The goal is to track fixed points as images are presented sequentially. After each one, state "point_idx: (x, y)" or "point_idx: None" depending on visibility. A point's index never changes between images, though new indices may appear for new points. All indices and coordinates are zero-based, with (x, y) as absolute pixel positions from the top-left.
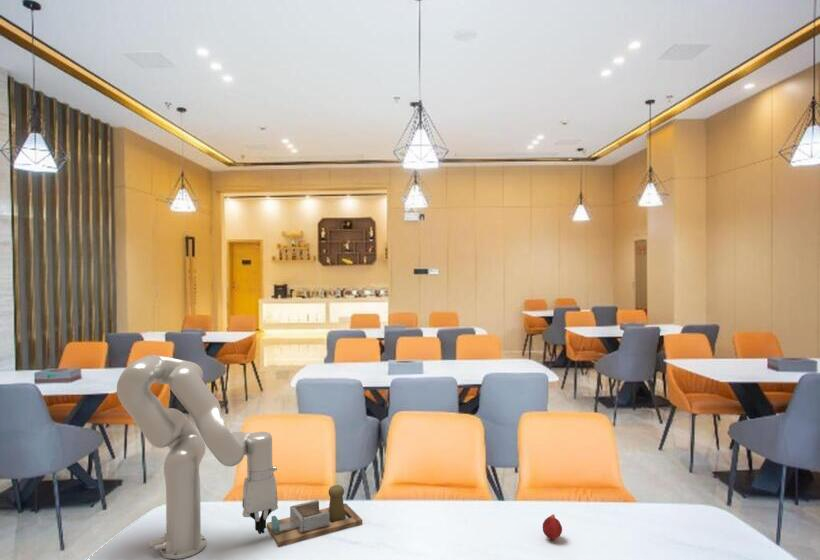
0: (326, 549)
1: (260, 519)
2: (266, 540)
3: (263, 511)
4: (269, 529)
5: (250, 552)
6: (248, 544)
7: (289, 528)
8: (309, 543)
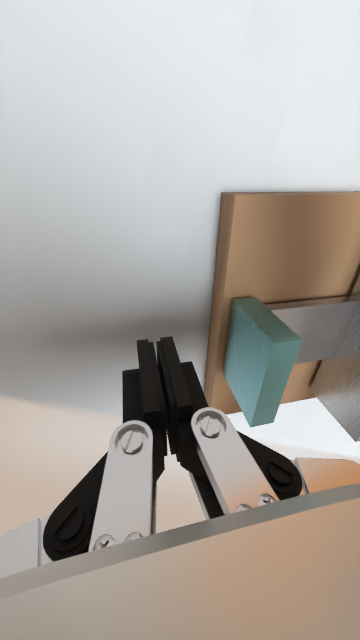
0: (309, 434)
1: (170, 420)
2: (175, 342)
3: (220, 472)
4: (220, 271)
5: (89, 406)
6: (81, 347)
7: (296, 362)
8: (296, 403)
